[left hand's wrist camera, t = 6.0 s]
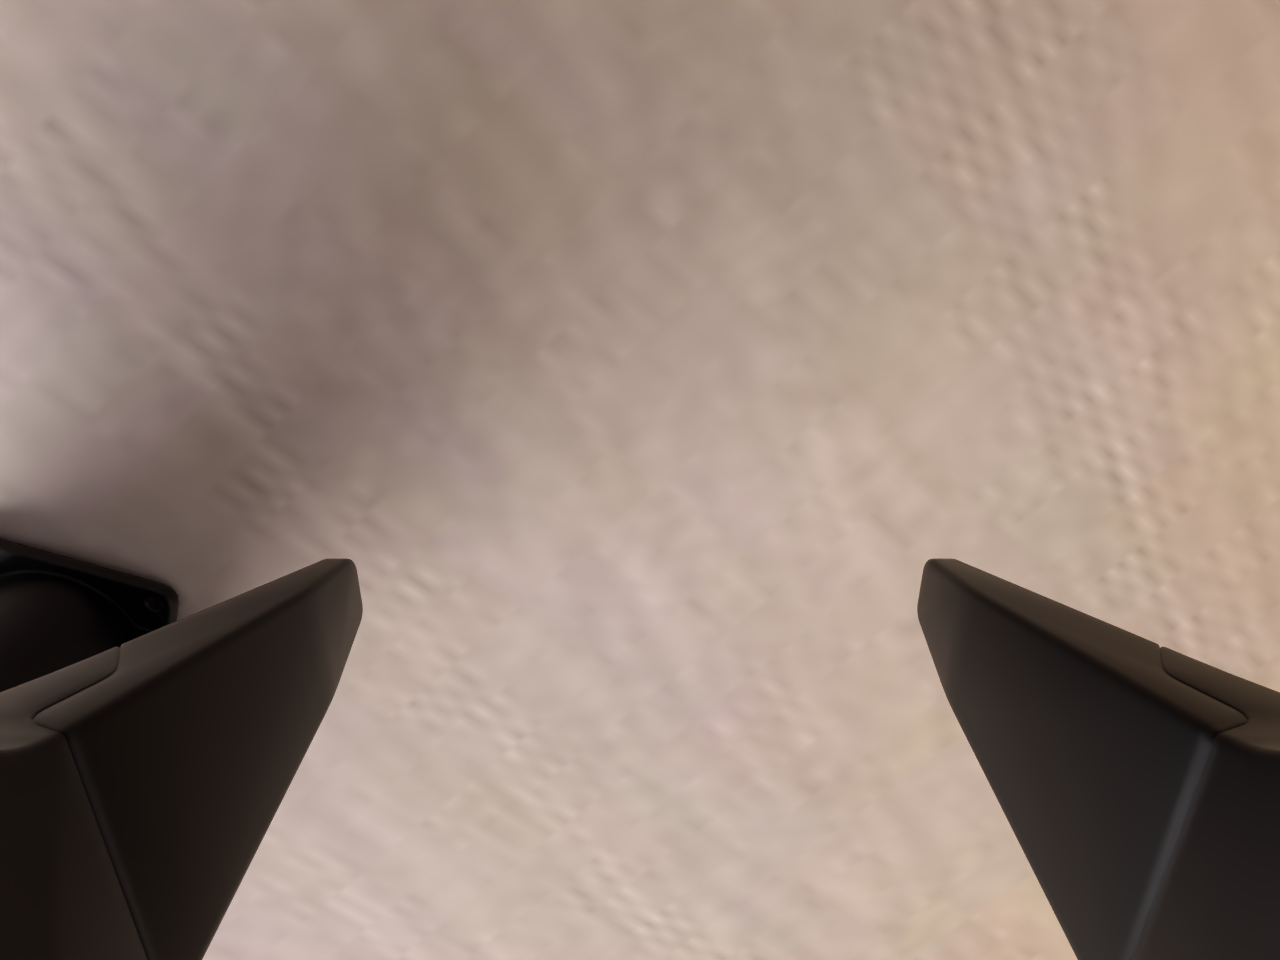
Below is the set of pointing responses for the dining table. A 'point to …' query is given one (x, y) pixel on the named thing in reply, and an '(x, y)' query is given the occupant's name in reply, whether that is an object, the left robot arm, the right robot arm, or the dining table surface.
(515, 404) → the dining table surface
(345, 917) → the dining table surface
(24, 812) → the left robot arm
